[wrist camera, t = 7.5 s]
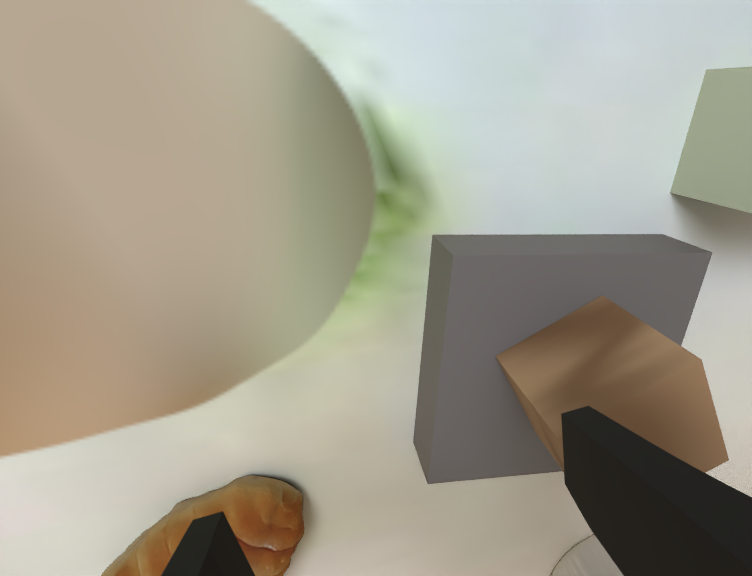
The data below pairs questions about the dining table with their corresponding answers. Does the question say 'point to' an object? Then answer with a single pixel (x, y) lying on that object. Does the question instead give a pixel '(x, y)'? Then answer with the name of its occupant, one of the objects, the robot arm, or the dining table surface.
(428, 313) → the charcoal slab
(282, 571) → the pastry
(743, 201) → the sage green cube
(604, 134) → the dining table surface
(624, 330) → the walnut cube
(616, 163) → the dining table surface
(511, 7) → the dining table surface
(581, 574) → the ramekin
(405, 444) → the dining table surface
